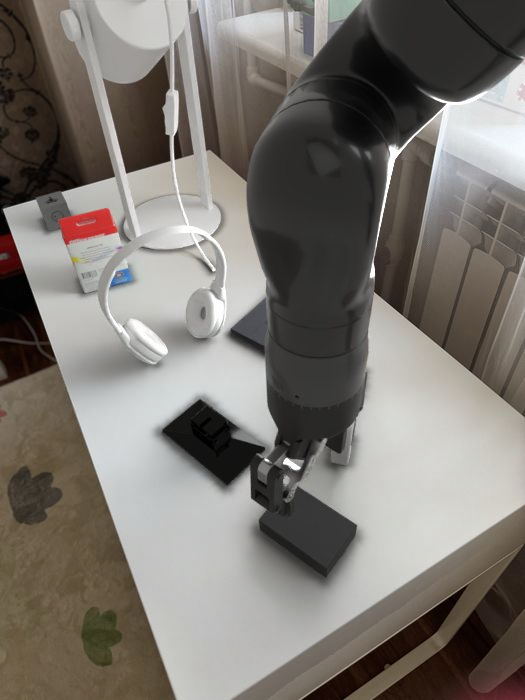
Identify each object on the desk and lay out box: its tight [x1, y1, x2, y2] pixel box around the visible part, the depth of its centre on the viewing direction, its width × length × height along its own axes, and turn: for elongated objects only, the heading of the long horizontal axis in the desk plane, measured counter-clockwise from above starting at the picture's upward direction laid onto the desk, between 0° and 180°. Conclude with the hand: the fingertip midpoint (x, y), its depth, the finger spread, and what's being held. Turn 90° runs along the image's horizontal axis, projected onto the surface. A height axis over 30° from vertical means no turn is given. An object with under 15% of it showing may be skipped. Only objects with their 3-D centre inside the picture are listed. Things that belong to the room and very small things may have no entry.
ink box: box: [58, 207, 133, 294], centre depth 89 cm, size 8×5×15 cm, turn 111°
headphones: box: [97, 225, 227, 365], centre depth 75 cm, size 7×18×20 cm, turn 123°
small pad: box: [258, 485, 358, 579], centre depth 59 cm, size 6×9×3 cm, turn 52°
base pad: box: [230, 297, 267, 353], centre depth 84 cm, size 14×16×1 cm
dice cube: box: [35, 190, 72, 232], centre depth 107 cm, size 5×5×5 cm
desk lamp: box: [59, 0, 222, 272], centre depth 88 cm, size 21×32×45 cm, turn 35°
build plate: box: [161, 398, 266, 486], centre depth 68 cm, size 12×7×5 cm, turn 48°
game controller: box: [330, 335, 371, 466], centre depth 68 cm, size 20×2×8 cm, turn 165°
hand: (309, 476), depth 52 cm, fingers open, 8 cm apart
